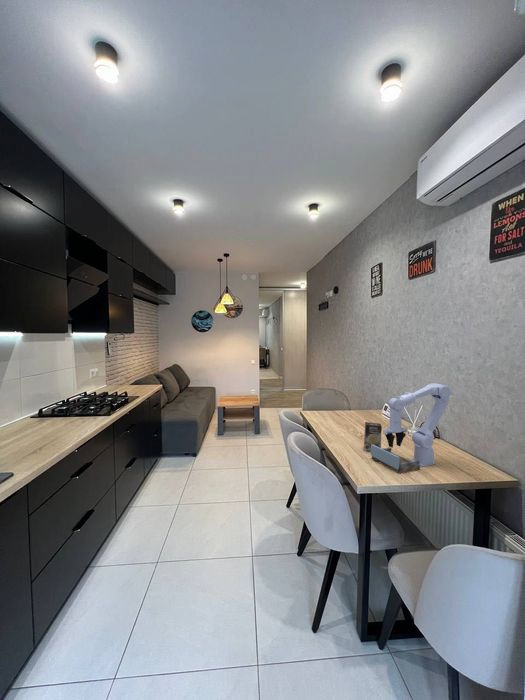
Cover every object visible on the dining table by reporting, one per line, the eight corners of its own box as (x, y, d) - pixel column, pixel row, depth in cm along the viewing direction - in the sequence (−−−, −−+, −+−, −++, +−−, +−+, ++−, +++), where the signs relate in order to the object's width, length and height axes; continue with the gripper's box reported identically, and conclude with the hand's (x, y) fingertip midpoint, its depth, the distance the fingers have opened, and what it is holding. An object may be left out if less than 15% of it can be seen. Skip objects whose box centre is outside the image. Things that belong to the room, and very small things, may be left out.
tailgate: (372, 455, 165) (372, 444, 165) (399, 469, 147) (399, 457, 147) (370, 455, 165) (370, 444, 164) (397, 469, 147) (397, 457, 147)
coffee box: (364, 451, 175) (365, 424, 175) (363, 447, 181) (364, 421, 181) (381, 453, 173) (381, 426, 172) (379, 449, 179) (380, 423, 178)
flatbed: (390, 455, 170) (390, 447, 170) (419, 469, 152) (420, 460, 152) (372, 458, 166) (372, 450, 166) (400, 473, 147) (400, 464, 147)
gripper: (400, 418, 164) (399, 442, 165) (379, 420, 159) (378, 445, 159) (410, 421, 157) (409, 446, 158) (389, 423, 152) (388, 449, 153)
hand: (394, 446), depth 158 cm, fingers open, 5 cm apart
